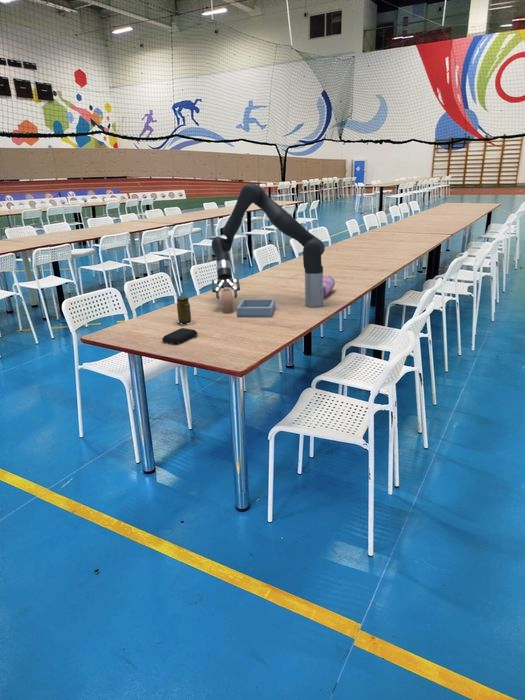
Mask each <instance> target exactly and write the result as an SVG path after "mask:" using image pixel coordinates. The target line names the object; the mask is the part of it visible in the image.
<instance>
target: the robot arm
mask: <svg viewBox="0 0 525 700" xmlns="http://www.w3.org/2000/svg"><path fill="white" fill-rule="evenodd" d="M252 204H254V205H256V207H258V208H259V209H260V210H262V212H263V213H264V214H265V215H266V217H267V219H268V220H269V222H270V223H271V224H272V225H273V226H274V227H275V228H276V229H277V230H279V231H280V232H281V233H282V234H284V235H286V236H287V237H289V238H292V239H293V240H294V241H296V242H298V243H299V244H300V245H301V246H302V247H303V248H302V259H303V260H302V262H303V268H304V306H305V307H309V308H318V307H323V306H324V297H323V277H324V267H323V266H322V265H323V264H322V255H323V254H324V252H325V251H326V250H325V248H326V247H325V244H324V242H323V241H322V240H321V239H320V238H318V237H316V236H315V235H314V234H313V233H311V232H310V231H308V230H307V228H305V227H304V226H303V225H302V224H301V223H300V222H299V221H297V219H295V218H294V217H293V216H292V215H291V214H290V213H289V212H288V211H287V210H285V209H284V208H283V207H282V206H280V204H279V203H277V202H275V201H274V200H273V199H272V198H271V197H270V196H269V195H268V194H267V193H266V191H264V189H263V188H262V187H261V186H260V185H259V184H257V183H248V184H245V185H244V186H243V187H242V188H241V190H240V192H239V195H238V197H237V201H236V203H235V205H234V206H233V207H234V208H233V210H232V212H231V214H230V216H229V218H228V220H227V221H226V223H225V225H224V226H223V228H222V232H221V233H222V235H223V236H224V237H226V238H223V237H220V236H215V237H213V239H212V240H211V248H212V251H213V254H214V257H215V261H216V274H217V275H216V277H217V280H215V279H212V280H211V292H212V293H215V296H216V299H217V300H219V299H220V294H219V293H220V291H222V290H224V287H229V289H230V290H232V292H233V295H234V298H235V299H236V298H238V291H240V290H241V284H240V280H239V278H238V277H237V278H235V279H234V278H233V272H232V265H231V260H230V259H231V258H230V254H229V252H230V251H231V249H232V247H233V242H234V239H235V236H236V234H237V233H238V231H239V229H240V227H241V225H242V223H243V219H244V216H245V214H246V212H247V210H248V209H249V207H251V205H252ZM234 284H236V286H235V285H234ZM216 285H218V286H217V287H216V288H215V286H216Z"/></svg>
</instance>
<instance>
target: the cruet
mask: <svg viewBox="0 0 525 700" xmlns="http://www.w3.org/2000/svg"><path fill="white" fill-rule="evenodd" d="M220 291H221V304H222V313H223V312H224V313H223V314H230V312H232V313H234V303H233V290H232V289H231V288H229V287H224V289H221V290H220Z"/></svg>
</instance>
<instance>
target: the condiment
mask: <svg viewBox="0 0 525 700" xmlns="http://www.w3.org/2000/svg"><path fill="white" fill-rule="evenodd" d="M176 301H177V302H176V309H177V320H175V323H177V324H178V325H180V326H185V325H184V324H187V323H190V322H191V320H192V314H191V313H192V312H191V305H190V301H189V297H187V296H180V297H177V299H176ZM178 321H179V323H178ZM180 323H182V324H183V325H182V324H180ZM193 323H194V324H196V322H195V321H193V320H192V323H190V324H189V325H193ZM186 326H188V324H187V325H186Z"/></svg>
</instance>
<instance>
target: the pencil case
mask: <svg viewBox="0 0 525 700" xmlns="http://www.w3.org/2000/svg"><path fill="white" fill-rule="evenodd" d="M335 284H336V281H335V279H334V277H332V276H330V275H327V274H326V275H323V298H325V297H326V296H327V295H328V294H329V293H331V292H332V290H333V289H334V287H335Z"/></svg>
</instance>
